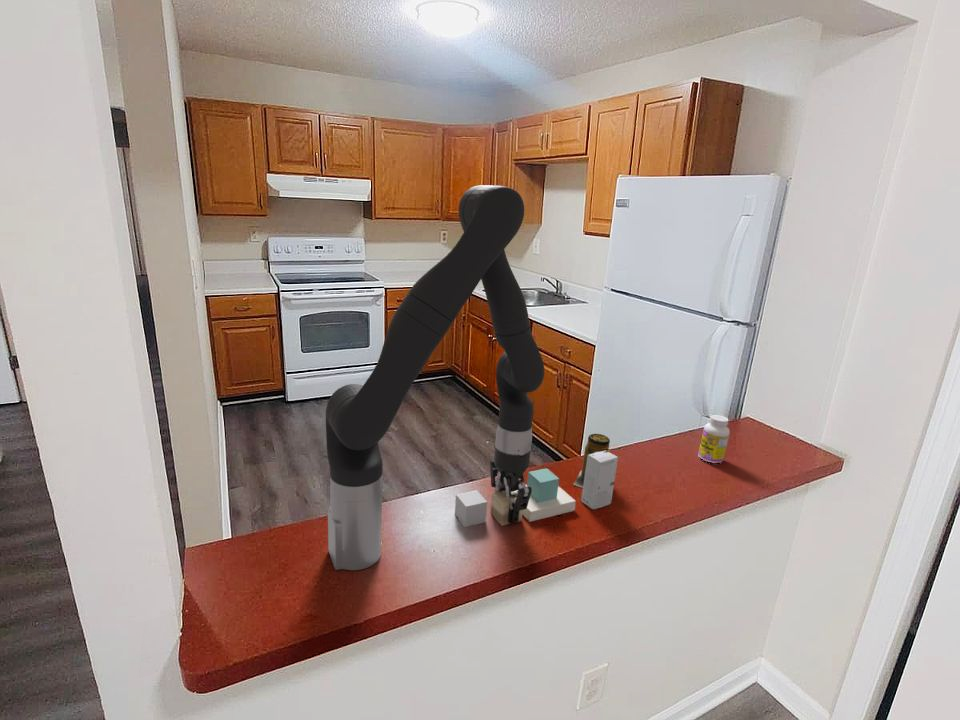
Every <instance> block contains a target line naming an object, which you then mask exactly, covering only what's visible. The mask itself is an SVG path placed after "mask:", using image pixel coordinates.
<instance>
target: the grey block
mask: <svg viewBox="0 0 960 720" xmlns="http://www.w3.org/2000/svg"><path fill="white" fill-rule="evenodd" d="M487 508H488V501H487V499H485V497H483V495H482V494H481V493H480V492H479V491H478V490H477V489H475V490H471V491H466V492H461V493H457V494H455V507H454V515H455V516H457V517H458V518H457V517H456V518H457V519H458V521H459V522H460V521H461V522H460V523H461V525H462V526H463V525H464V526H463V527H464V528H467V527H470V526H475V525H479V524H482V523H486V521H487V518H486V517H487V510H488V509H487ZM474 524H475V525H474ZM466 526H467V527H466Z"/></svg>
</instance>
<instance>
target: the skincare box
mask: <svg viewBox="0 0 960 720" xmlns="http://www.w3.org/2000/svg"><path fill="white" fill-rule="evenodd" d="M618 460H619V457H618V456H617V455H615V454H613V453H611V452H608V451H606V450H605V451H601V452H595V453H593V454H589V455H588V456H587V463H586V470H585V477H584V484H583V488H582V491H581V492H582V493H581V499H580V501H581V502H582V503H583V504H584V505H586V507H588V508H590V509H592V510H597V509H600V508H604V507H606V506H609V505H611V504H612V500H613V493H614V487H615V486H614V485H615V480H616V474H617V468H618Z"/></svg>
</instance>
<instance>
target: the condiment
mask: <svg viewBox="0 0 960 720" xmlns="http://www.w3.org/2000/svg"><path fill="white" fill-rule="evenodd" d="M610 442H611V441H610V438H609V437H608V436H607V435H604V434H601V433H591V434H589V435H588V438H587V442H586V445H585V447H584V453H583V458H582V460H583V461H582V464H581V465H582V466H581V470H580V471H579V473H578V475H577V477H576V479H575V481H574V482H573V486H576V487H578V488H582V489H583V484H584V477H585V470H586V463H587V456H588V455H589V454H593V453H595V452H601V451H605V450H606V451H608V452H610ZM610 453H611V452H610Z"/></svg>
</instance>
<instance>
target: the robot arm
mask: <svg viewBox="0 0 960 720" xmlns="http://www.w3.org/2000/svg"><path fill="white" fill-rule="evenodd" d="M462 194H463V195H462V196H461V198H460V199H459V203H458V210H457V211H458V218H459V223H460V225H461V228H462V230H463V233H462V235H461V237H459V240H458V241H457V243H456V244H455V245H454V246H453V248H452V249H451V250H450V251H449V252H448V253H447V255H446V256H444V257H443V258H442V259H441V260H439V262H437V263H436V264H435V265H433V267H431V268H430V269H428V271H426V272H425V274H423V275H422V276H421V277H420V278H419V279H418V280H417V281H416V282H415V283H414V284H413V285H412V287H411V288H410V289H409V291H408V293H407V294H406V295H405V297H404V299H403V300H402V301H401V303H400V305H399V306H398V308H397V309H396V310H395V312H394V313H393V315H392V317H391V321H390V323H389V325H388V328H387V331H386V335H385V338H384V342H383V345H382V348H381V351H380V355H379V358H378V360H377V363H376V365H375V366H374V369H373V370H372V372H371V374H370V375H369V376H368V378H367V379H366V381H365V382H364V384H358V383H350V384H345V385H342V386H341V387H339V388H337V389H336V390H335V391H334V392H333V393H332V395H330V397H329V400H328V401H327V405H326V408H325V438H326V440H325V441H326V454H327V455H326V456H327V460H328V465H329V480H330V481H329V486H330V487H329V488H330V490H329V491H330V492H329V494H330V497H329V498H330V501H329V502H330V504H329V505H330V506H329V507H327V535H328V536H327V537H328V538H327V539H328V540H327V541H328V543H327V544H328V545H327V546H328V547H327V549H328V553H329V556H330V559H331V562H332V565H333V568H334V570H335V571H338V570H339V571H340V570H346V571H359V570H360V571H361V570H364V569H367V568H370V567H371V566H373V565H375V564H376V563H377V562H378V561H379V560H380V558H381V557H382V556H381V555H382V525H383V524H382V523H383V522H382V519H383V515H382V513H383V474H384V473H383V468H384V467H383V466H384V464H383V457H382V454H381V449H380V447H379V442H380V441H381V440H382V439H383V438H384V436H386V434H387V432H388V430H389V428H390V427H391V425H392V423H393V421H394V419H395V417H396V414H397V413H398V412H399V410H400V407H401V405H402V404H403V402H404V400H405V398H406V396H407V394H408V392H409V391H410V388H411V387H412V386H413V383H414V382H415V381H416V379H417V377H418V376H419V374H421V371H422V370H423V368H424V367H425V365H426V364H427V363H428V361H429V359H430V357H431V356H432V354H433V353H434V352H435V350H436V348H437V347H438V345H440V343H441V341H442V340H443V339H444V337H445V336H446V334H447V332H448V331H449V329H450V328H451V327H452V325H453V323H454V322H455V320H456V318H457V317H458V315H459V313H460V312H461V311H462V308H463V307H464V305H466V303H467V301H468V300H469V298H470V297H471V295H472V294H473V292H474V291H475V289H476V288H477V286H478V285H479V283H480V281H481V284H482V286H483V289H484V292H485V293H484V294H485V297H486V302H487V304H488V309H489V314H490V318H491V319H490V320H491V323H492V328H493V332H494V337H495V340H496V342H497V344H498V345H499V346H500V347H501V348H502V350H503V353H502V354H501V355H500V357H499V359H498V361H497V363H496V367H495V368H496V369H495V380H496V387H497V396H498V400H499V408H498V409H499V410H498V411H499V412H498V424H497V428H496V432H495V439H494V440H495V441H494V453H493V460H490V462H489V465H490V485H491V488H494V493H496V492H500V491H505V490H506V497H507V498H509V514H508V522H509V523H510V524H509V525H511V524H512V525H513V524H516V523H518V522H517V521H518V520H519V510H524V509H527V506H528V502H529V499H530V496H531V492H532V488H531V487H530V486H529V487H526V485H527V484H526V483H525V475H524V473H525V472H526V470H527V469H528V468H529V466H530V461H531V448H532V441H533V431H532V430H533V420H534V410H535V409H534V407H535V406H534V403H533V401H532V400H531V398H530V397H529V395H528V394H527V393H533V392H535V391H537V390H538V389H539V388H540V387H541V386H542V384H543V382H544V379H545V364H544V361H543V358H542V355H541V353H540V349H539V346H538V345H537V342H536V340H535V339H534V338H535V337H534V336H533V334H532V330H531V323H530V319H529V318H530V317H529V313H528V308H527V304H526V303H527V302H526V300H525V297H524V293H523V291H522V289H521V287H520V285H519V283H518V281H517V279H516V277H515V275H514V272H513V270H512V268H511V266H510V263H509V261H508V257H507V254H506V250H505V249H506V247H508V245H509V244H510V243H511V241H512V240H513V239H514V237H515V236H516V235H517V234H518V232H519V230H520V228H521V226H522V225H523V221H524V217H525V204H524V200H523V197H522V196H521V194H520V193H519V192H518V191H517V190H516V189H514V188H512V187H509V186H505V185H491V184H490V185H489V184H487V185H486V184H482V185H475V186H472V187H470V188H469V189H467V190H466V191H465V192H464V193H462ZM517 490H518V491H517ZM513 491H517V492H516V493H511V492H513ZM516 497H517V498H516ZM514 498H516V501H515V503H514V500H513V499H514Z"/></svg>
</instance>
